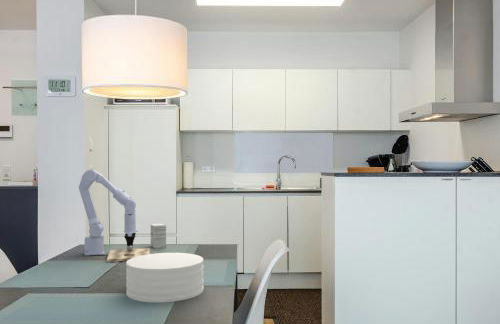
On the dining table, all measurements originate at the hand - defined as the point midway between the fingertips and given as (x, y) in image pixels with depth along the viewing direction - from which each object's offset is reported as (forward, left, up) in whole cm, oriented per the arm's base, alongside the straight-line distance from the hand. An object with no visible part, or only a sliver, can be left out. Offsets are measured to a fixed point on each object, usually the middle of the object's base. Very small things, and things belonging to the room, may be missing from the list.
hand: (130, 247), depth 240 cm
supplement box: (+15, +12, -2) cm, 19 cm away
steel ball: (0, -5, +1) cm, 5 cm away
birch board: (0, -11, -2) cm, 11 cm away
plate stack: (+15, -78, -3) cm, 80 cm away
